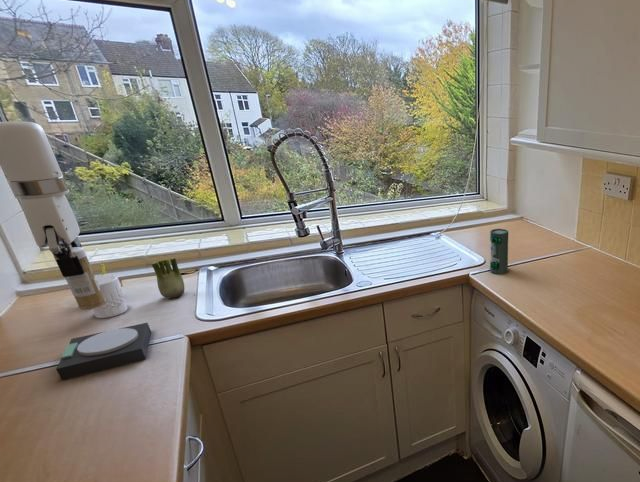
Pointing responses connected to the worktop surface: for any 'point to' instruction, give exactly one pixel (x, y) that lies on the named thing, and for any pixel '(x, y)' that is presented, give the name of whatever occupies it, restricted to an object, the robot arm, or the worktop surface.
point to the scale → (104, 351)
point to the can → (499, 251)
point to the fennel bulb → (169, 278)
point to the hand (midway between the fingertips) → (76, 270)
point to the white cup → (110, 297)
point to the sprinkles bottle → (85, 284)
